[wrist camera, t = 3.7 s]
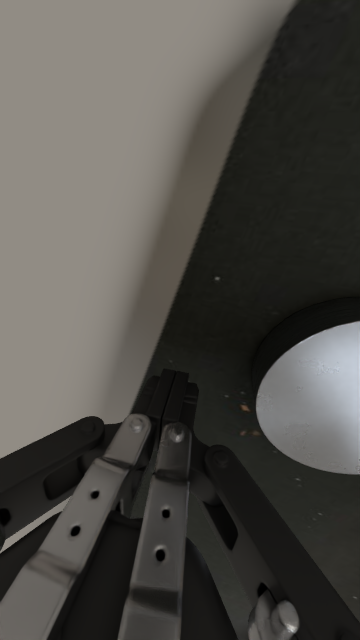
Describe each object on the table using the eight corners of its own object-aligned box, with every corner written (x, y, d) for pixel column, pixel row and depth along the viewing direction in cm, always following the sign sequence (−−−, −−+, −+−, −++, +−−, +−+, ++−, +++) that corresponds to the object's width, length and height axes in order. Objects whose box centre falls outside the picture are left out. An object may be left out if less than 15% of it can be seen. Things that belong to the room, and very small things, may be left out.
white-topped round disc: (220, 354, 17) (218, 382, 14) (395, 257, 13) (439, 271, 10) (301, 452, 19) (312, 491, 17) (470, 398, 15) (522, 440, 12)
